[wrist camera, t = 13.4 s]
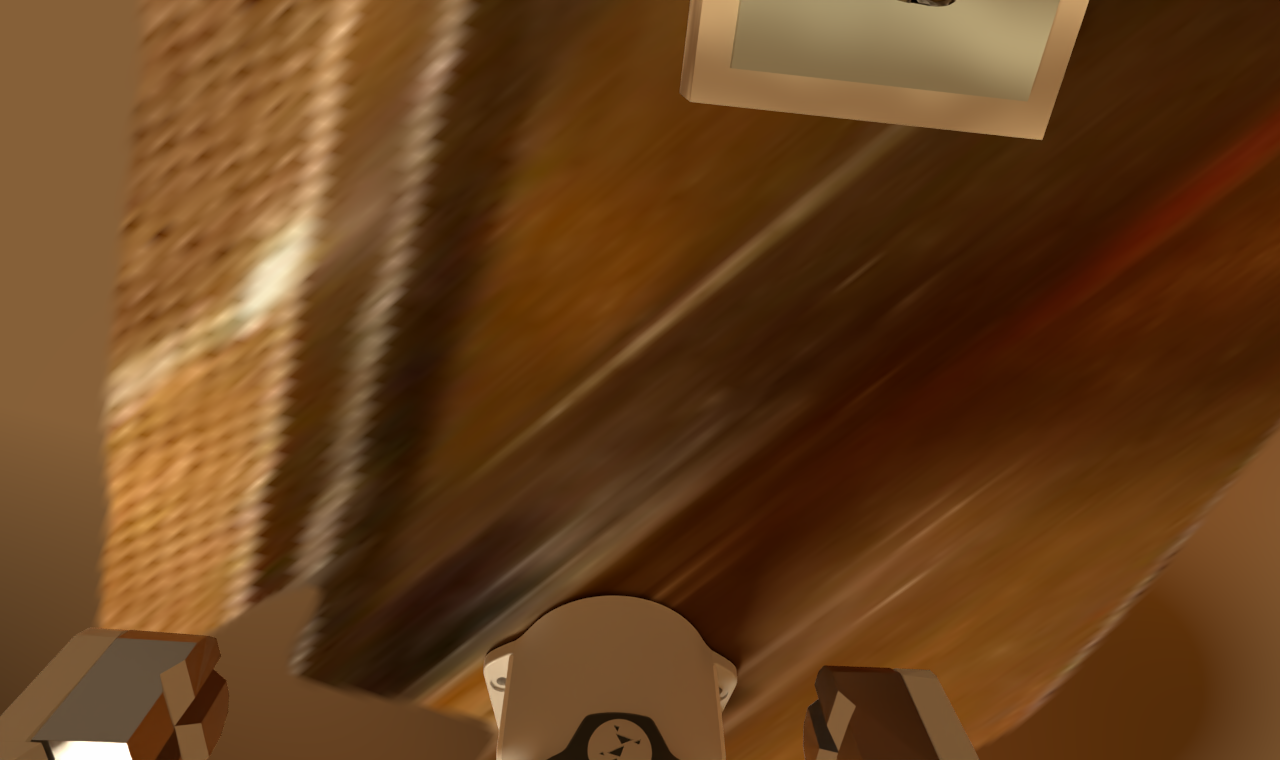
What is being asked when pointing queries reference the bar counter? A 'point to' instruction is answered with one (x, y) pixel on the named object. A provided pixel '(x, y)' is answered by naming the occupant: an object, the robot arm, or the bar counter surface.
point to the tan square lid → (885, 60)
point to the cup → (931, 2)
